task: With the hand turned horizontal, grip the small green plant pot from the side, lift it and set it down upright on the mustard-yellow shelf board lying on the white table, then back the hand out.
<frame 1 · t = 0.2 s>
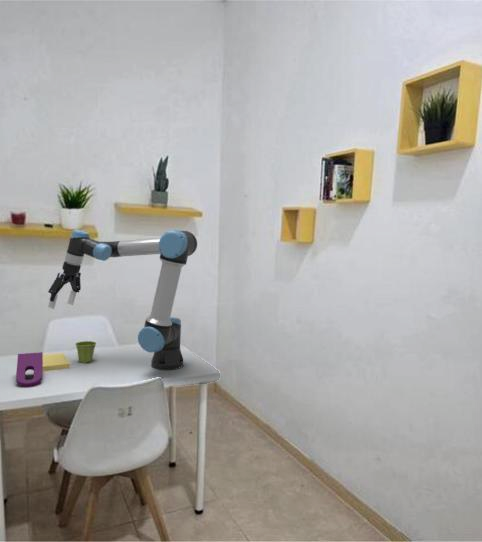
hand: (60, 306, 196), 27 cm above the table, tool tilted 15°, fingers open, 13 cm apart
mounting bracket: (29, 380, 173), on the table
shelf board: (52, 363, 196), on the table
plant pot: (85, 361, 202), on the table
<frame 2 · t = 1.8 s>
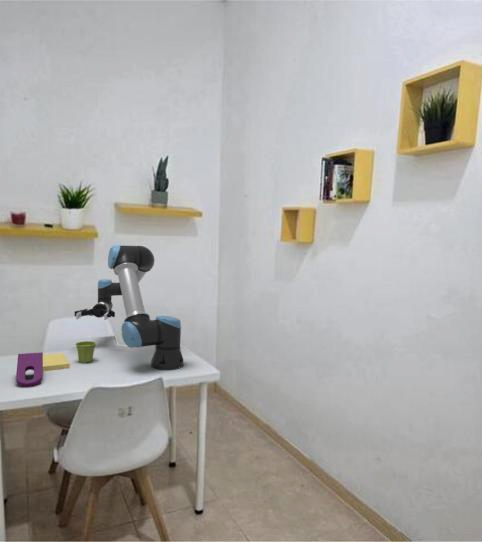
hand: (91, 317, 210), 20 cm above the table, tool horizontal, fingers open, 13 cm apart
nothing on the table moved.
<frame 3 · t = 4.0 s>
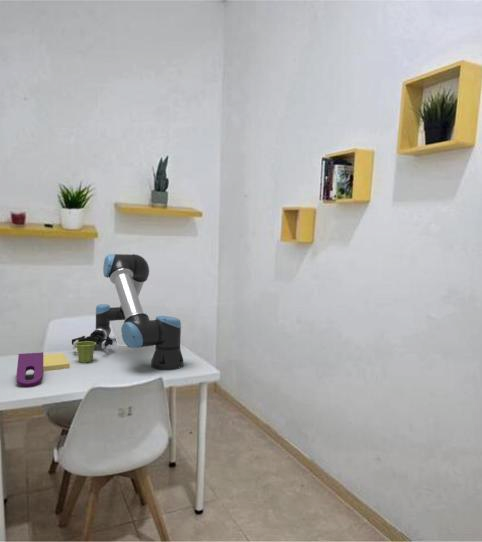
hand: (88, 346, 207), 6 cm above the table, tool horizontal, fingers open, 13 cm apart
nothing on the table moved.
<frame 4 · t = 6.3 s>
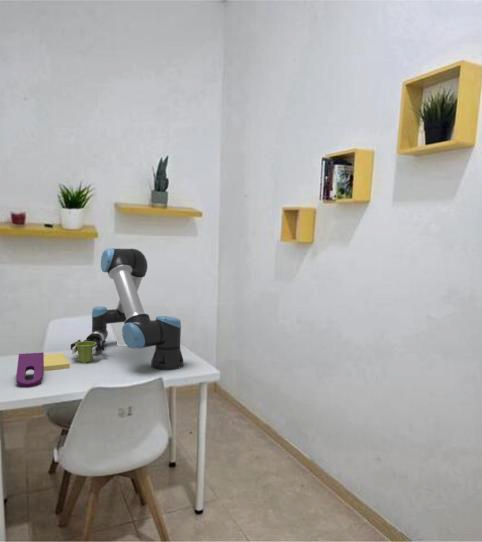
hand: (83, 351, 197), 6 cm above the table, tool horizontal, fingers closed on plant pot, 8 cm apart
plant pot: (85, 361, 202), on the table, touching gripper
everything else where it was.
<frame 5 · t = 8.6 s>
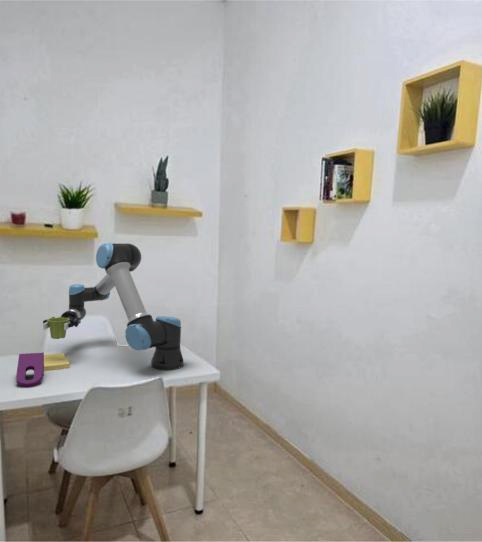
hand: (54, 327, 190), 18 cm above the table, tool horizontal, fingers closed on plant pot, 8 cm apart
plant pot: (58, 338, 196), point 12 cm above the table, touching gripper
everything else where it was.
when the fingers open (9 cm above the table, at t = 10.9 s): plant pot moves 3 cm, resting on shelf board.
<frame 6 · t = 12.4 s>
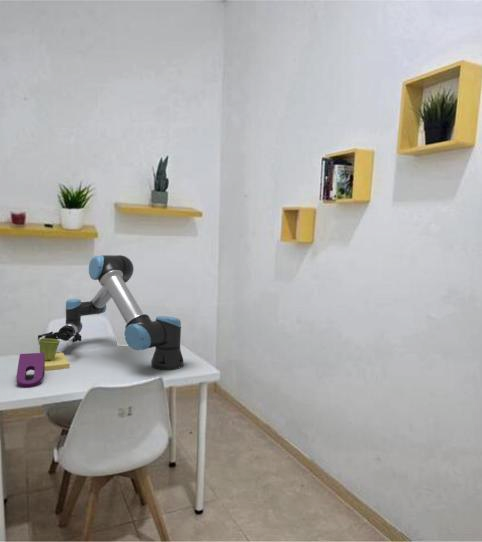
hand: (54, 342, 197), 10 cm above the table, tool horizontal, fingers open, 13 cm apart
plant pot: (46, 359, 195), point 2 cm above the table, touching gripper, shelf board
everything else where it was.
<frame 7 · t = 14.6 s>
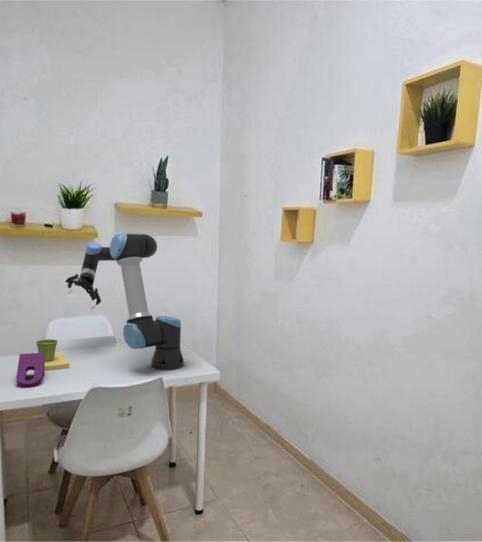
hand: (81, 299, 204), 29 cm above the table, tool tilted 65°, fingers open, 13 cm apart
plant pot: (46, 360, 195), point 2 cm above the table, touching shelf board
everything else where it was.
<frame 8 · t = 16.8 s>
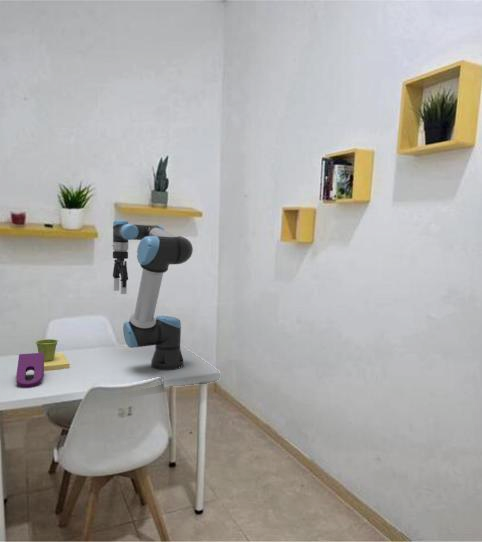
hand: (119, 292, 216), 32 cm above the table, tool pointing down, fingers open, 13 cm apart
nothing on the table moved.
at the end: plant pot inside the target area on the shelf board (2.3 cm from its centre), point 1.8 cm above the shelf board's base; plant pot tilted 0°; the gripper is holding nothing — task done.
